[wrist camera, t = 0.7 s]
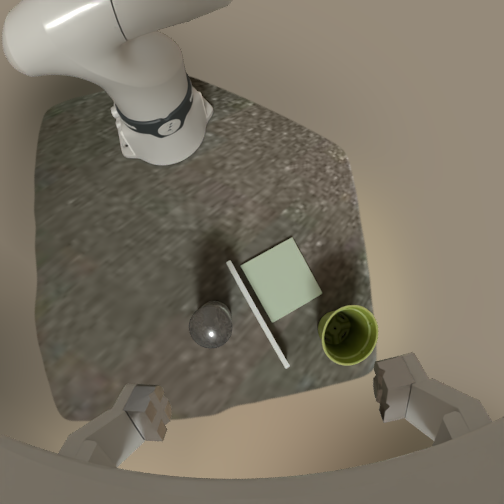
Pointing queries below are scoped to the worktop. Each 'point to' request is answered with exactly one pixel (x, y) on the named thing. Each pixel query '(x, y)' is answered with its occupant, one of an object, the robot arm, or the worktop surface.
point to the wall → (257, 314)
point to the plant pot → (348, 334)
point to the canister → (211, 325)
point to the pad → (281, 279)
